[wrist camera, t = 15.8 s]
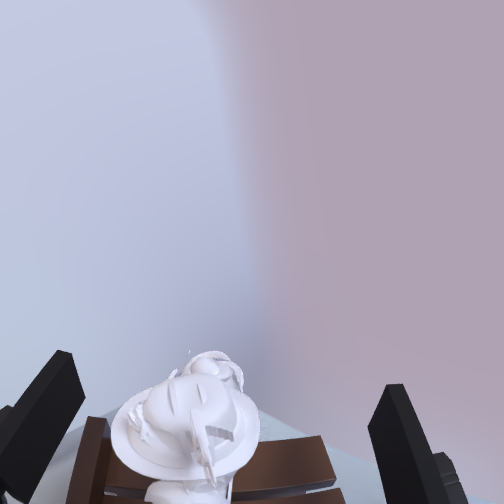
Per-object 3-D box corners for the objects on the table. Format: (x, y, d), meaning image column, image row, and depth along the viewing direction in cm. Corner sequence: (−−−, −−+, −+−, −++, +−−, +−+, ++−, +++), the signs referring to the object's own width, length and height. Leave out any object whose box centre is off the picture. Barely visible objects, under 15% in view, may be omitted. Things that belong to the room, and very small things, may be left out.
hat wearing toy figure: (233, 610, 7) (264, 571, 3) (144, 596, 7) (4, 496, 3) (245, 469, 15) (269, 279, 11) (176, 460, 15) (155, 268, 11)
